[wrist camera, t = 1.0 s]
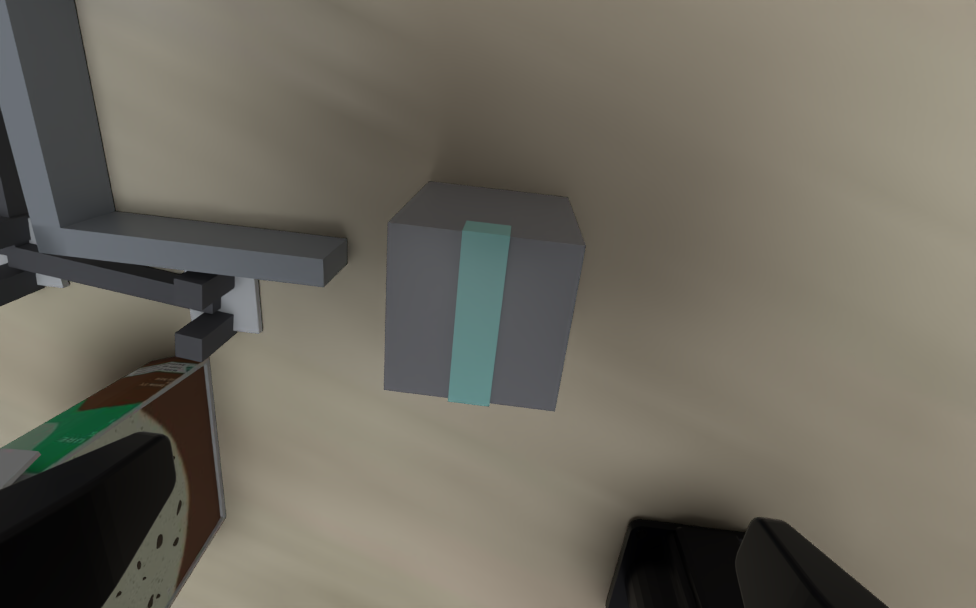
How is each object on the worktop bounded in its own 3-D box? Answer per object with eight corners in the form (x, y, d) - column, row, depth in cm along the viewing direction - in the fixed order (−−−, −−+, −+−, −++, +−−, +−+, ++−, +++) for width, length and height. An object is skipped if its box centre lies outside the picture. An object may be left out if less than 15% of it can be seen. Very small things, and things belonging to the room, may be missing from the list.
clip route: (262, 335, 21) (231, 366, 19) (11, 304, 21) (-51, 331, 19) (237, 39, 17) (192, 32, 14) (-80, 4, 17) (-174, -9, 15)
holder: (347, 263, 20) (323, 287, 17) (95, 233, 20) (39, 252, 18) (343, -82, 15) (311, -111, 13) (19, -116, 15) (-68, -151, 13)
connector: (546, 323, 20) (554, 415, 15) (422, 308, 20) (382, 393, 15) (568, 195, 18) (586, 245, 13) (429, 179, 18) (386, 221, 13)
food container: (61, 304, 21) (-289, 469, 12) (206, 325, 21) (-37, 507, 12) (111, 521, 26) (-112, 754, 17) (228, 538, 26) (68, 783, 17)
